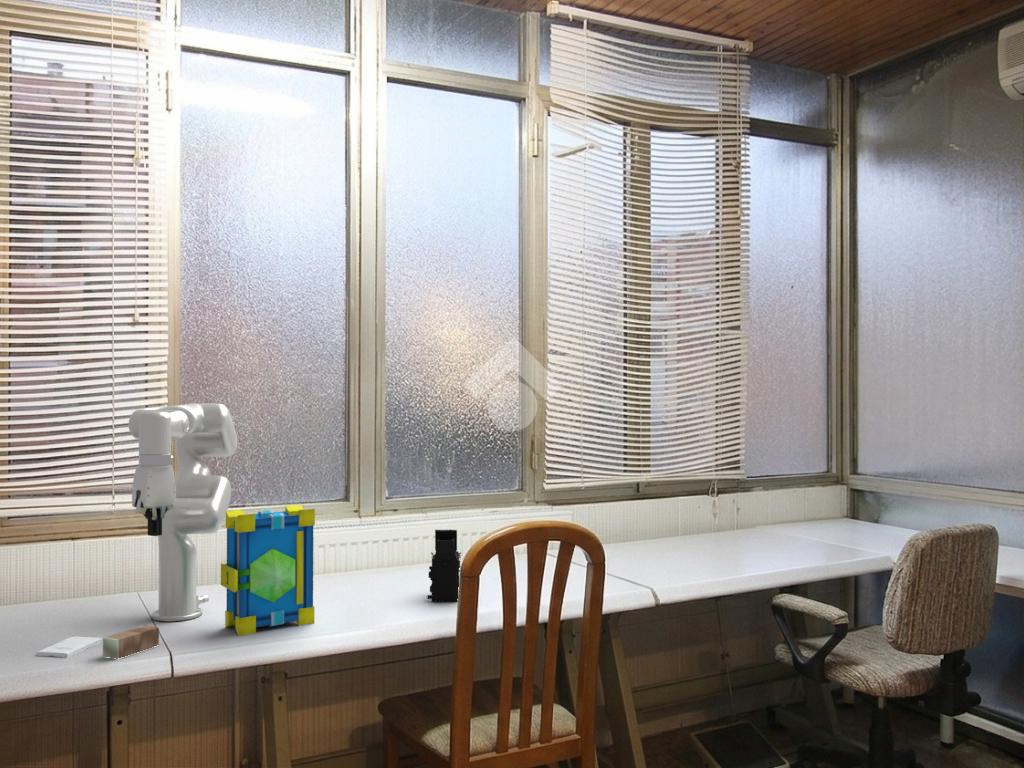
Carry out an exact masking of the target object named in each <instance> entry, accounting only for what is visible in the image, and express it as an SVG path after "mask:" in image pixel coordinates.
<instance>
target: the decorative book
mask: <svg viewBox="0 0 1024 768" xmlns="http://www.w3.org/2000/svg"><path fill="white" fill-rule="evenodd" d="M284 508H285V509H284V510H285V511H274V510H273V509H270V510H267V509H266V510H259V511H258V512H257V513H251V514H248V513H247V514H245V512H244V511H243V510H244V509H233V510H227V511H226V515H225V529H226V563H222V562H220V585H221V586H222V587H224V588H226V610H225V611H224V613H225V614H224V616H225V617H224V619H225V620H224V622H225V623H224V625H225V626H224V627H226V628H232V627H234V629H235V630H236V633H237V635H238V636H245V635H253V634H256V633H257V628H258V627H267V626H269V627H275V626H283V625H284V624H285V623H291V622H296V623H297V625H298V626H299V625H301V626H305V625H304V624H307V625H310V624H309V623H313V624H315V606H314V543H315V542H314V539H315V538H314V526H315V525H316V514H315V513H316V512H315V511H316V509H315V508H308V509H304V507H303V506H302V505H301V504H295V505H286V506H284Z"/></svg>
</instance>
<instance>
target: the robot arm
mask: <svg viewBox="0 0 1024 768" xmlns="http://www.w3.org/2000/svg"><path fill="white" fill-rule="evenodd" d="M233 421H234V420H233V418H232V415H231V413H230V411H229V409H228V407H227V406H225V405H224V404H222V403H218V402H217V403H216V402H215V403H214V402H213V403H211V402H210V403H202V402H199V403H198V402H197V403H194V402H191V403H183V404H179V405H178V404H177V405H168V406H161V407H149V408H147V407H146V408H141V409H140V408H139V409H136V410H135V411H133V412H132V414H131V415H130V417H129V420H128V431H129V433H130V435H131V436H132V437H133V438H134V439H136V440H138V467H136V468H135V471H134V476H133V480H132V491H131V493H132V494H131V506H132V507H134V508H135V514H139V515H143V516H144V518H145V520H147V536H149V537H150V536H151V537H157V539H158V609H157V610H154V611H153V612H152V614H151V617H152V619H153V620H155V621H159V622H181V621H187V620H191V619H192V620H193V619H195V618H198V617H200V616H202V614H203V609H202V608H201V607H200V605H201V604H204V603H208V602H209V600H210V597H209V596H208V594H205V595H201V596H199V595H197V548H196V546H195V544H194V542H193V541H192V539H191V538H190V537H189V535H193V534H194V535H198V534H200V535H203V534H204V535H205V534H206V535H207V534H215V533H217V532H218V531H219V530H220V529H221V528H222V526H223V523H224V521H225V519H226V511H228V509H229V505H230V502H231V498H232V486H231V483H230V480H229V479H228V478H227V477H226V476H223V475H217V474H216V475H215V474H214V475H212V474H211V470H210V468H209V466H208V465H207V464H206V463H205V462H204V461H203V460H202V459H200V458H227V457H228V458H229V457H232V456H233V455H234V454H235V453H236V451H237V449H238V442H239V441H238V436H237V431H236V429H235V428H236V427H235V424H234V422H233ZM172 440H176V443H175V447H176V449H175V450H176V460H177V464H178V468H179V472H178V474H177V477H176V478H175V472H174V466H173V465H172V461H173V460H174V456H173V455H172Z"/></svg>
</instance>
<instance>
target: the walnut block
mask: <svg viewBox="0 0 1024 768" xmlns="http://www.w3.org/2000/svg"><path fill="white" fill-rule="evenodd" d="M157 645H159V646H160V626H159V627H158V626H152V625H147V624H146V625H142V626H137V627H134V628H131V629H128V630H125V631H122V632H118V633H115V634H111V635H108V636H104V637H103V638H102V657H103V656H104V657H110V658H116V659H118V658H121V657H125V656H128V655H131V654H134V653H137V652H140V651H143V650H146V649H149V648H152V647H154V646H157ZM152 649H153V648H152ZM149 650H150V649H149ZM146 651H147V650H146ZM143 652H144V651H143ZM140 653H141V652H140ZM137 654H138V653H137ZM134 655H135V654H134ZM131 656H132V655H131ZM128 657H129V656H128ZM125 658H126V657H125Z"/></svg>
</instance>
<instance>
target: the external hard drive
mask: <svg viewBox="0 0 1024 768" xmlns="http://www.w3.org/2000/svg"><path fill="white" fill-rule="evenodd" d="M101 641H102V642H103V638H101V637H95V636H94V637H92V636H91V637H90V636H74V635H73V636H71V637H68V638H65V639H63V640H61V641H58V642H56V643H54V644H52V645H49V646H48V647H45V648H42V649H41V650H37V651H35V656H36V655H37V657H38V656H39V657H54V656H61V657H60V658H67V657H68V658H70V657H71V655H72V656H74V655H76V653H77V654H79V653H81V652H83V651H85V650H87V649H86V648H88V649H90V648H92V647H94V646H96V645H95V644H97V643H99V642H101ZM102 642H101V643H102ZM99 644H100V643H99ZM93 645H94V646H93ZM97 645H98V644H97ZM91 646H92V647H91ZM89 647H90V648H89ZM84 649H85V650H84ZM82 650H83V651H82ZM80 651H81V652H80ZM78 652H79V653H78ZM73 654H74V655H73ZM62 656H64V657H62ZM69 656H70V657H69Z"/></svg>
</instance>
